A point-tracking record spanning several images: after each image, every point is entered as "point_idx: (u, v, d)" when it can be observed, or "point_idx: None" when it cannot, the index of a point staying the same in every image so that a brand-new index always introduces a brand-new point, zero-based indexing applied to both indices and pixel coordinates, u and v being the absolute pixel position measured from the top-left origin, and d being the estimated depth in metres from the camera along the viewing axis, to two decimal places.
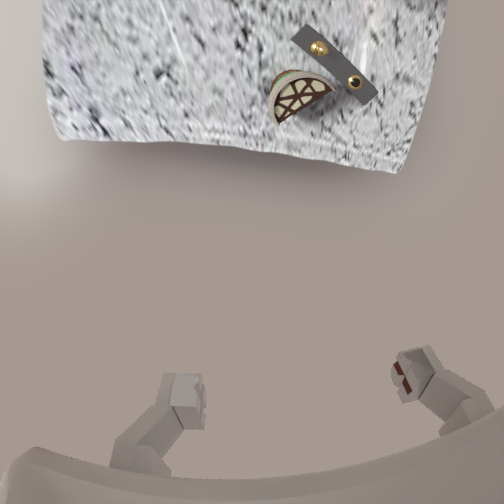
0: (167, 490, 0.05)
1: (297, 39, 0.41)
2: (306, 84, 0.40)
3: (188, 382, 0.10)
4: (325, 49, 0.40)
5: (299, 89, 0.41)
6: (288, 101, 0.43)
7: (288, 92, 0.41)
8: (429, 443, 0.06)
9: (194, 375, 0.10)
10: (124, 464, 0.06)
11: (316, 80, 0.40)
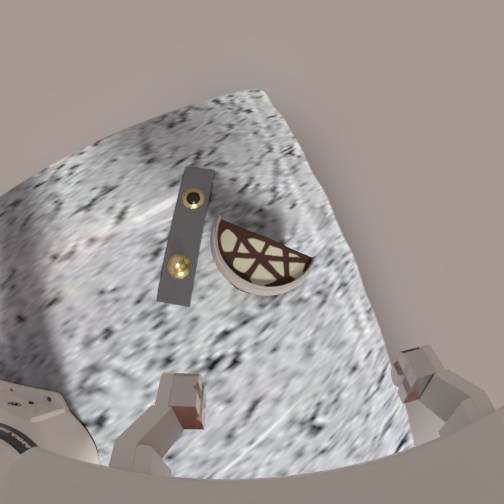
0: (167, 490, 0.05)
1: (184, 299, 0.37)
2: (236, 257, 0.31)
3: (188, 382, 0.10)
4: (173, 260, 0.35)
5: (249, 261, 0.31)
6: (275, 265, 0.31)
7: (263, 273, 0.31)
8: (429, 443, 0.06)
9: (194, 375, 0.10)
10: (125, 463, 0.06)
11: (221, 247, 0.31)
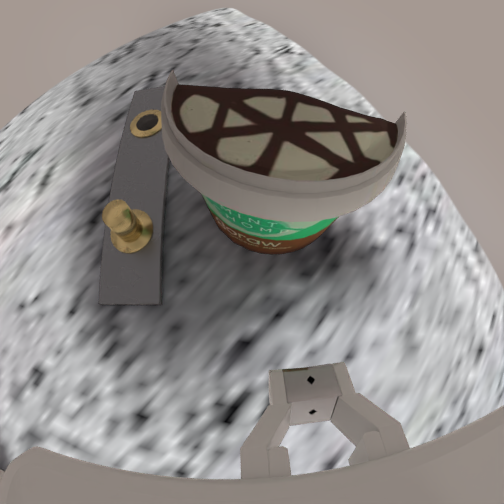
0: (167, 490, 0.05)
1: (148, 290, 0.18)
2: (222, 136, 0.11)
3: (300, 376, 0.10)
4: (108, 212, 0.16)
5: (258, 140, 0.11)
6: (324, 139, 0.11)
7: (300, 159, 0.11)
8: (429, 443, 0.06)
9: (303, 369, 0.10)
10: (259, 471, 0.06)
11: (184, 127, 0.11)
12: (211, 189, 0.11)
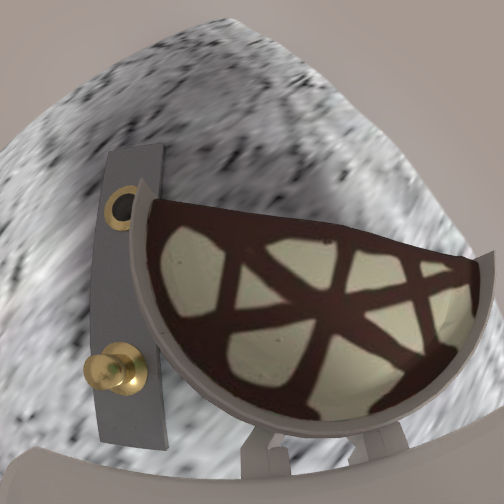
0: (167, 490, 0.05)
1: (152, 436, 0.14)
2: (235, 330, 0.07)
3: None
4: (91, 370, 0.12)
5: (292, 336, 0.07)
6: (391, 321, 0.07)
7: (354, 367, 0.07)
8: (429, 443, 0.06)
9: None
10: (259, 471, 0.06)
11: (170, 304, 0.07)
12: None
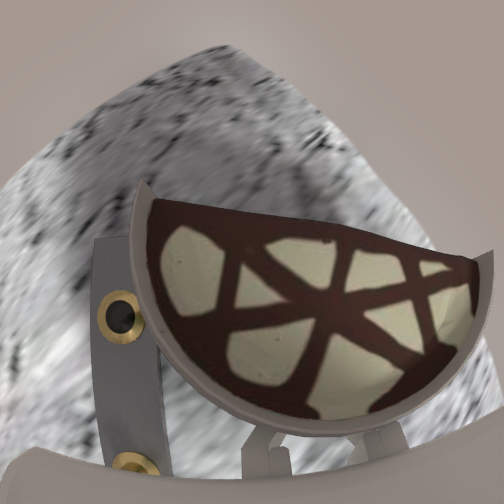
0: (167, 490, 0.05)
1: None
2: (234, 329, 0.07)
3: None
4: None
5: (292, 335, 0.07)
6: (390, 320, 0.07)
7: (354, 366, 0.07)
8: (429, 443, 0.06)
9: None
10: (260, 471, 0.06)
11: (170, 303, 0.07)
12: None
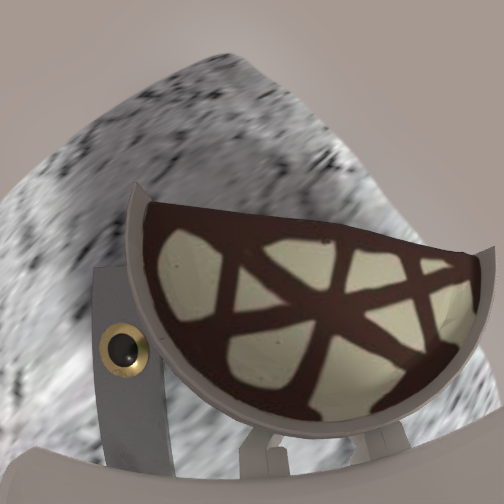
0: (167, 490, 0.05)
1: None
2: (234, 333, 0.07)
3: None
4: None
5: (292, 338, 0.07)
6: (391, 320, 0.07)
7: (355, 367, 0.07)
8: (429, 443, 0.06)
9: None
10: (258, 471, 0.06)
11: (169, 308, 0.07)
12: None
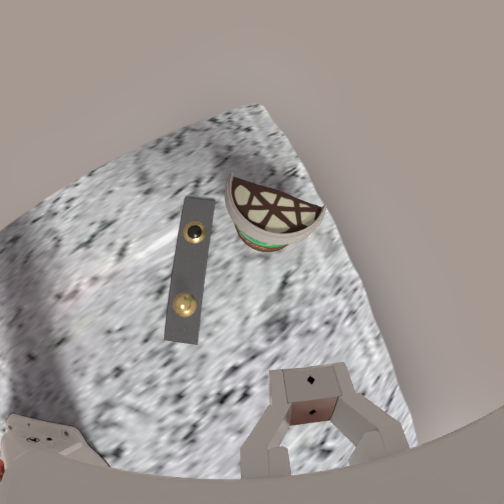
0: (167, 490, 0.05)
1: (192, 337, 0.36)
2: (250, 209, 0.32)
3: (300, 376, 0.10)
4: (177, 302, 0.34)
5: (263, 212, 0.32)
6: (288, 214, 0.33)
7: (276, 222, 0.32)
8: (429, 443, 0.06)
9: (303, 369, 0.10)
10: (259, 471, 0.06)
11: (236, 201, 0.32)
12: (244, 229, 0.32)
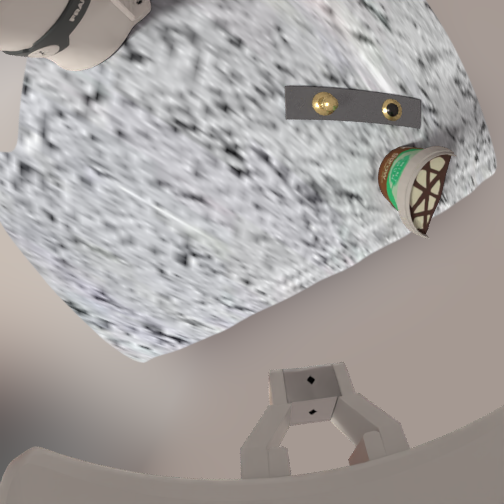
0: (167, 490, 0.05)
1: (293, 113, 0.34)
2: (426, 171, 0.29)
3: (300, 376, 0.10)
4: (331, 100, 0.30)
5: (424, 183, 0.30)
6: (421, 205, 0.31)
7: (416, 195, 0.30)
8: (429, 443, 0.06)
9: (303, 369, 0.10)
10: (259, 471, 0.06)
11: (432, 158, 0.28)
12: (410, 166, 0.29)
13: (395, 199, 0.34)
